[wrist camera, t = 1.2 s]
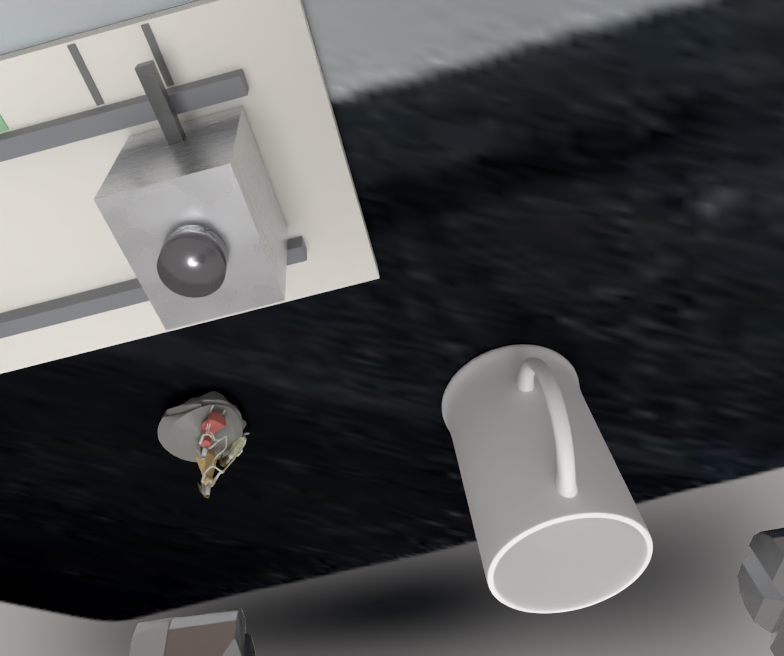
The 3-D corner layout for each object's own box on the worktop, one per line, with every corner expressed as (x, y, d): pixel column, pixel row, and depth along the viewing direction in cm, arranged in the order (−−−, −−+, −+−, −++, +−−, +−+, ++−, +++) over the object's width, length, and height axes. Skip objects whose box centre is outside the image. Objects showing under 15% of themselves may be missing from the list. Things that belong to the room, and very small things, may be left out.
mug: (449, 299, 37) (500, 466, 27) (600, 292, 38) (701, 452, 28) (437, 449, 44) (474, 624, 34) (564, 441, 45) (635, 609, 35)
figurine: (147, 425, 40) (145, 508, 35) (173, 371, 38) (175, 452, 33) (232, 441, 42) (240, 520, 38) (261, 391, 40) (273, 469, 36)
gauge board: (293, -26, 27) (291, 15, 21) (377, 265, 35) (392, 352, 29) (-266, 129, 28) (-413, 208, 22) (-55, 375, 36) (-122, 478, 31)
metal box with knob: (215, 31, 26) (190, 89, 21) (287, 228, 32) (284, 317, 26) (94, 64, 27) (36, 131, 21) (186, 254, 32) (161, 348, 26)
